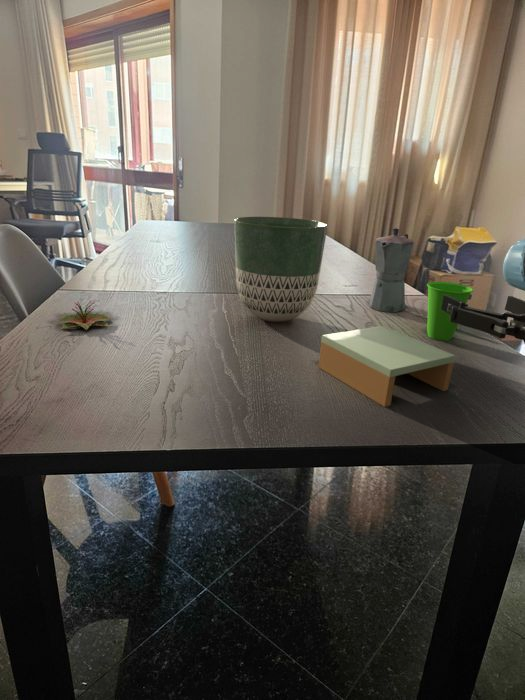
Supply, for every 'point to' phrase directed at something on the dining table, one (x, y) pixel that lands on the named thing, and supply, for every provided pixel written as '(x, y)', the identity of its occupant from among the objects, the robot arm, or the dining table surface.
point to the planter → (278, 264)
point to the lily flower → (83, 319)
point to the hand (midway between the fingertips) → (476, 302)
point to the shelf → (382, 361)
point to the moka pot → (391, 272)
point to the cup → (438, 318)
